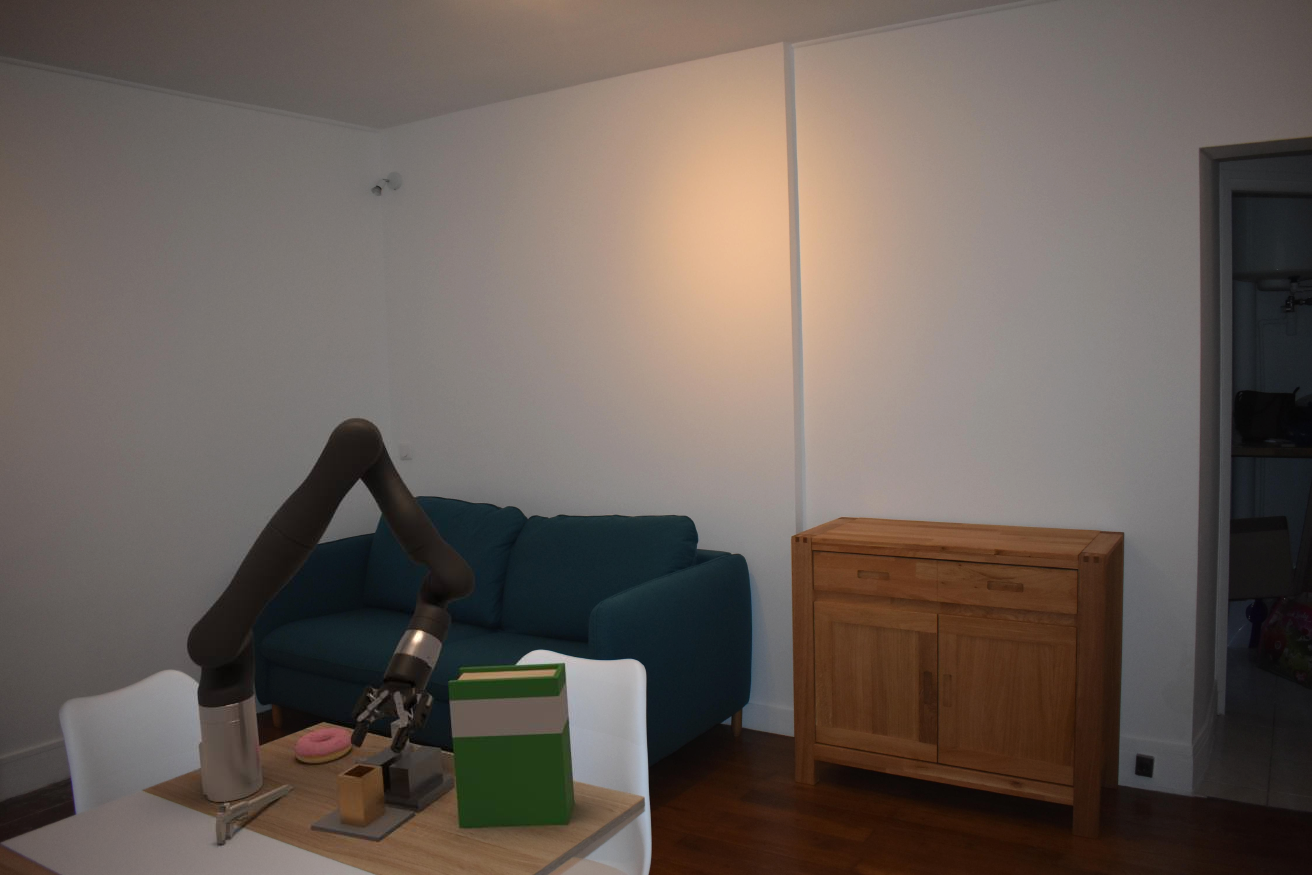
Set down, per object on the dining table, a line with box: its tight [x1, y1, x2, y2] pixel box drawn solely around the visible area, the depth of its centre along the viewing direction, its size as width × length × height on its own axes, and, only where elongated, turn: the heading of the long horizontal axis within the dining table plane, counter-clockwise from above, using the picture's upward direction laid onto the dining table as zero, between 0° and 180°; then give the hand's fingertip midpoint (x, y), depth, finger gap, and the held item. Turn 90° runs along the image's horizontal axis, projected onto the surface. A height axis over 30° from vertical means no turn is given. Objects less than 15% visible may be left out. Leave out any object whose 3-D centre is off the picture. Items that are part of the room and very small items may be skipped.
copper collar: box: [336, 763, 386, 828], centre depth 149 cm, size 5×5×8 cm
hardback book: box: [447, 662, 576, 829], centre depth 148 cm, size 18×7×24 cm, turn 87°
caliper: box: [215, 784, 295, 845], centre depth 155 cm, size 20×1×6 cm, turn 171°
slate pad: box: [310, 806, 416, 843], centre depth 150 cm, size 14×9×1 cm, turn 67°
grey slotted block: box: [354, 718, 456, 813], centre depth 159 cm, size 17×10×13 cm, turn 67°
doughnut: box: [293, 727, 353, 764], centre depth 180 cm, size 11×11×4 cm
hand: (374, 748), depth 153 cm, fingers open, 8 cm apart
